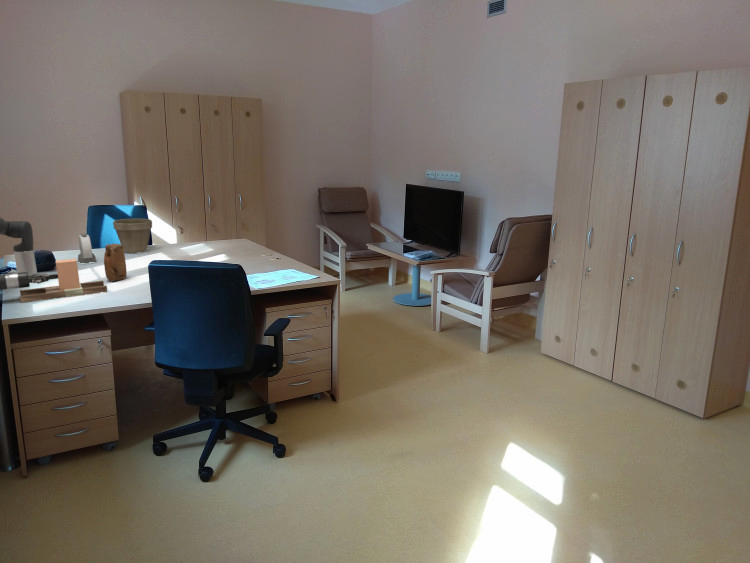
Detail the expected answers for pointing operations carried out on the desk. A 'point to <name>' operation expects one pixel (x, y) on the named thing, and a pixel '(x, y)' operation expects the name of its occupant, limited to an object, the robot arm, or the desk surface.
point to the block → (114, 262)
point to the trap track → (61, 291)
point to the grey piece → (85, 250)
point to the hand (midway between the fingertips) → (57, 276)
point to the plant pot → (133, 234)
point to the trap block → (67, 274)
